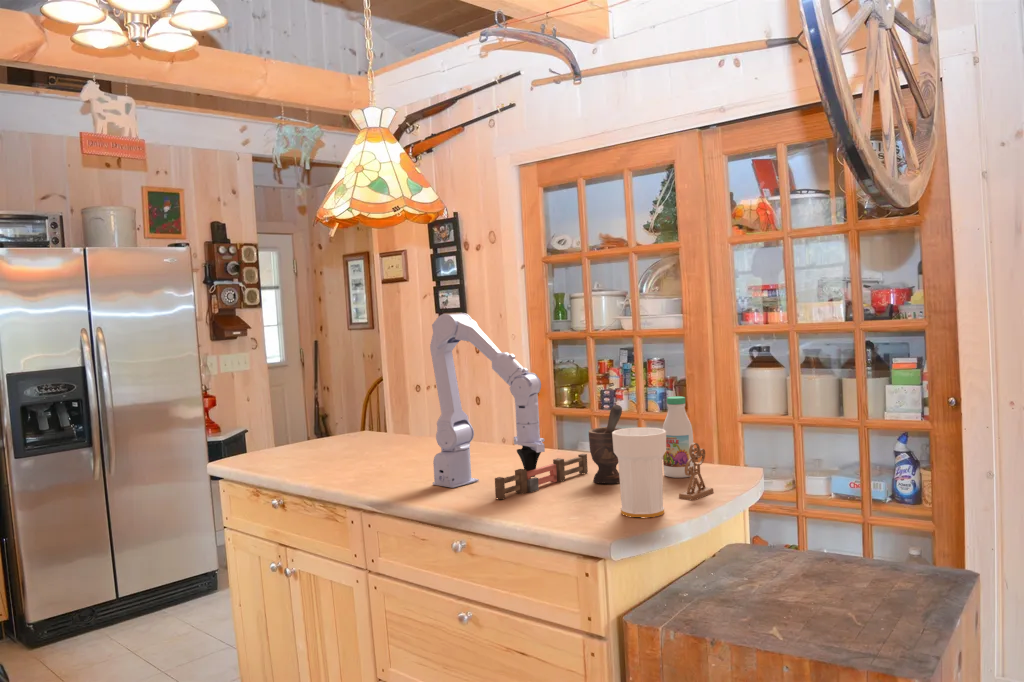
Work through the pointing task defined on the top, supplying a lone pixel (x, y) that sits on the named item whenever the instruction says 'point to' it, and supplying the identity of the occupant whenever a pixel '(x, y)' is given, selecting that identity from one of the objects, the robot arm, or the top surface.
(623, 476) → the cup
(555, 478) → the gate
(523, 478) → the fence
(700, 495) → the gingerbread man figurine
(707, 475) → the top surface
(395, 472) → the top surface
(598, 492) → the top surface
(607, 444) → the mortar and pestle
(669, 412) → the milk bottle
